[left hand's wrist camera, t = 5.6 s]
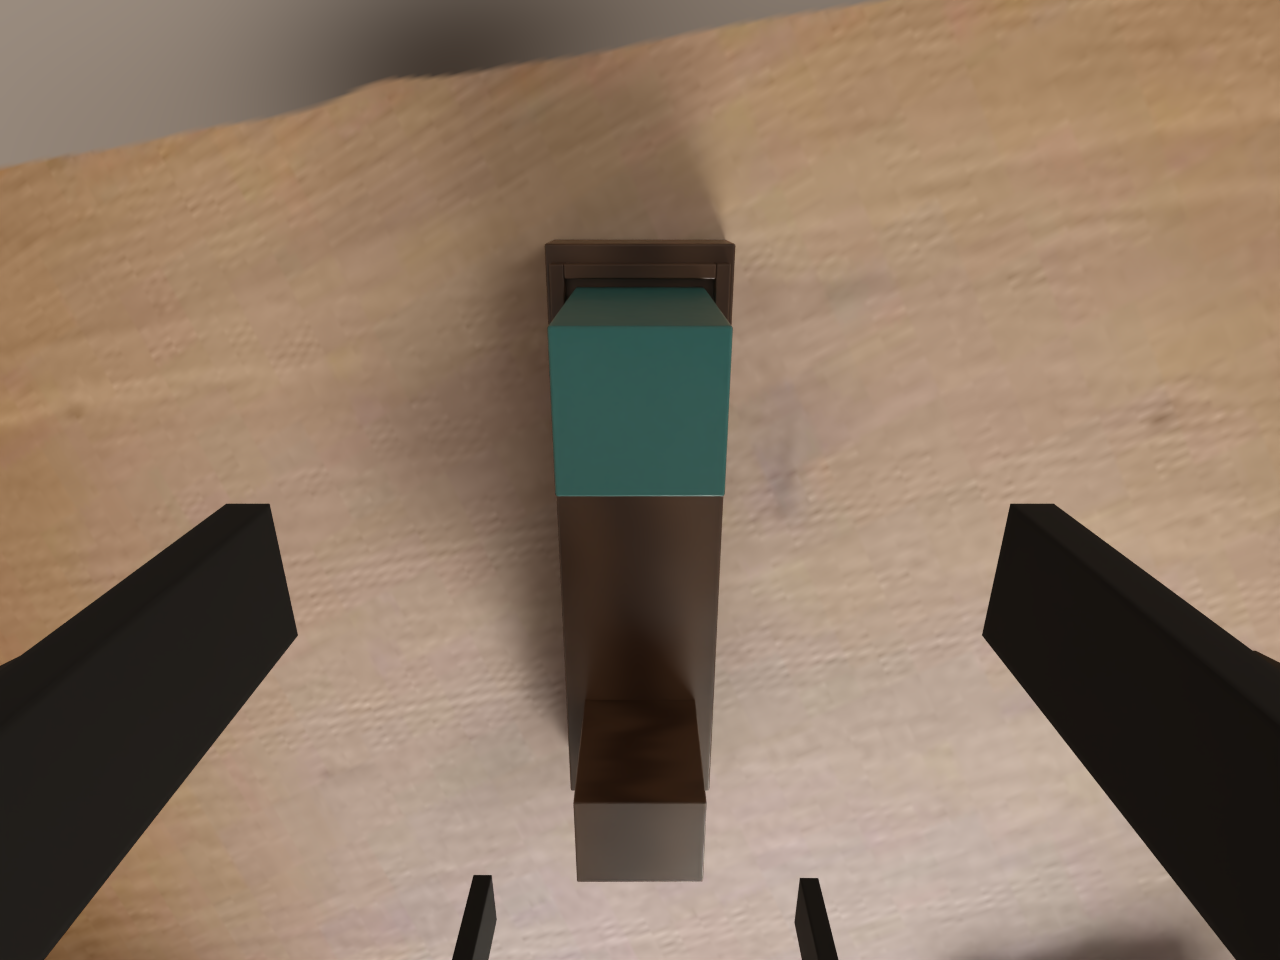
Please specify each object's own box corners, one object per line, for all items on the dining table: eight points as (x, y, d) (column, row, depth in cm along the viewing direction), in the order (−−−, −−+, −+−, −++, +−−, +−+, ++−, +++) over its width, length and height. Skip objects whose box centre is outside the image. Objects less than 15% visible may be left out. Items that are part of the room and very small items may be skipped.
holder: (727, 239, 32) (762, 256, 23) (704, 753, 43) (722, 904, 34) (552, 239, 32) (517, 256, 23) (575, 752, 43) (557, 904, 34)
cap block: (704, 286, 30) (733, 325, 21) (700, 410, 32) (724, 497, 23) (575, 286, 30) (546, 326, 21) (579, 410, 32) (555, 497, 23)
